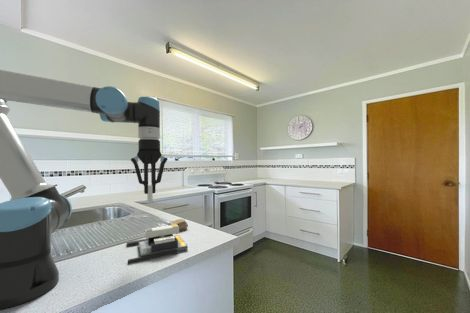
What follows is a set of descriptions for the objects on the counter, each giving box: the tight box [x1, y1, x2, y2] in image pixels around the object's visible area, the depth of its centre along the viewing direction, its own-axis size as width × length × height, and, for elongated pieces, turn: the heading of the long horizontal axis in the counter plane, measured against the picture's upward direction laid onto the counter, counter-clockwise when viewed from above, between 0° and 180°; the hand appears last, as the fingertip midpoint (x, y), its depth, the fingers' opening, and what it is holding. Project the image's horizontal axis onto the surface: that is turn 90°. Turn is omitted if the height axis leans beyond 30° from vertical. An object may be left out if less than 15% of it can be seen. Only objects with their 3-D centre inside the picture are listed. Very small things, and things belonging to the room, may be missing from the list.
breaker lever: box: [144, 224, 180, 239], centre depth 82 cm, size 12×3×3 cm, turn 118°
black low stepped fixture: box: [126, 238, 178, 265], centre depth 82 cm, size 18×18×1 cm
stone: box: [167, 218, 189, 232], centre depth 105 cm, size 8×10×4 cm
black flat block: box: [137, 234, 189, 257], centre depth 82 cm, size 16×13×5 cm
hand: (149, 202), depth 80 cm, fingers closed
